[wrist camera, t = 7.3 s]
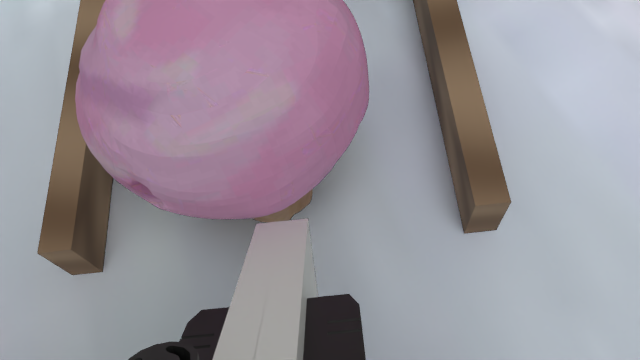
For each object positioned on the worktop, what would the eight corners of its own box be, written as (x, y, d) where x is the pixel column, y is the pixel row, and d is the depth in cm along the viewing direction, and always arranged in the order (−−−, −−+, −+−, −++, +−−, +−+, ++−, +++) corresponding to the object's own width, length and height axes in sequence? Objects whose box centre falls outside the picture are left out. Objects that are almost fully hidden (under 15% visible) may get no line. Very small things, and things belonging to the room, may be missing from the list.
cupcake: (216, 70, 25) (133, -141, 16) (397, 117, 23) (412, -94, 14) (120, 239, 22) (-54, 86, 13) (323, 314, 20) (283, 192, 11)
